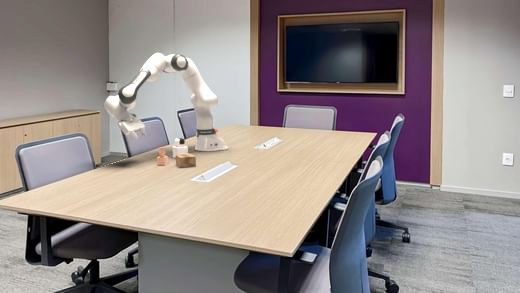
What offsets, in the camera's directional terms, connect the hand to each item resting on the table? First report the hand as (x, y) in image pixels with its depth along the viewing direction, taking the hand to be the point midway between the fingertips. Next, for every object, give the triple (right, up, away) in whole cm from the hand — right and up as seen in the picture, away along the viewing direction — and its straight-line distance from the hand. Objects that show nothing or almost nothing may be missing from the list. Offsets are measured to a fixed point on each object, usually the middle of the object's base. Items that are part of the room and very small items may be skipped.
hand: (141, 136), depth 265 cm
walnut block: (+26, -17, -3) cm, 31 cm away
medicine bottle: (+19, -13, +19) cm, 30 cm away
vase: (+12, -16, 0) cm, 20 cm away
